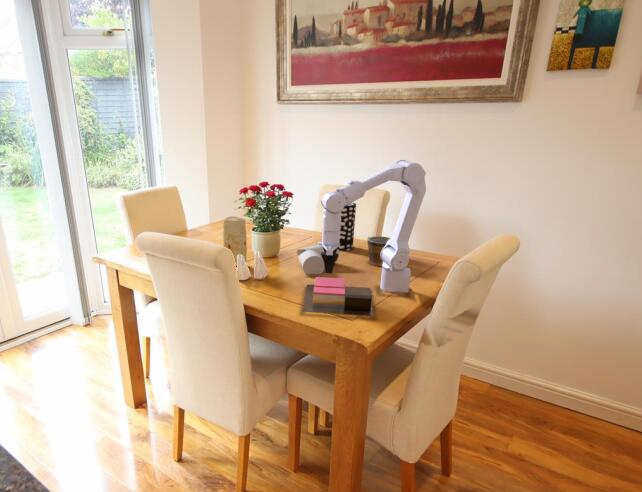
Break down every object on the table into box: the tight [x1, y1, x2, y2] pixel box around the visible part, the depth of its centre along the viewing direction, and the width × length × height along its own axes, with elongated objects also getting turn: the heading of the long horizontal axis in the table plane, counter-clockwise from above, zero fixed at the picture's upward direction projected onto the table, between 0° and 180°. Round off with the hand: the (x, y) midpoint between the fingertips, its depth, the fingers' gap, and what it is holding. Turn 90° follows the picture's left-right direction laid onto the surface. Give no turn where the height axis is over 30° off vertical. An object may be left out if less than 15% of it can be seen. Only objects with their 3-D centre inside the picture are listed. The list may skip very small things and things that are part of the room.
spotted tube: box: [338, 202, 357, 252], centre depth 204 cm, size 8×8×20 cm
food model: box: [222, 216, 248, 265], centre depth 187 cm, size 10×7×20 cm
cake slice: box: [313, 287, 345, 300], centre depth 151 cm, size 10×4×4 cm, turn 78°
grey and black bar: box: [313, 294, 373, 312], centre depth 145 cm, size 18×2×4 cm, turn 78°
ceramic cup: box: [366, 235, 392, 267], centre depth 187 cm, size 13×10×10 cm
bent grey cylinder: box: [296, 244, 340, 275], centre depth 183 cm, size 18×11×20 cm
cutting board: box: [301, 284, 375, 317], centre depth 153 cm, size 22×23×1 cm
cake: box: [313, 276, 346, 289], centre depth 157 cm, size 10×8×4 cm
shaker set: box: [236, 250, 269, 281], centre depth 173 cm, size 12×4×11 cm, turn 85°
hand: (329, 269), depth 155 cm, fingers open, 7 cm apart
